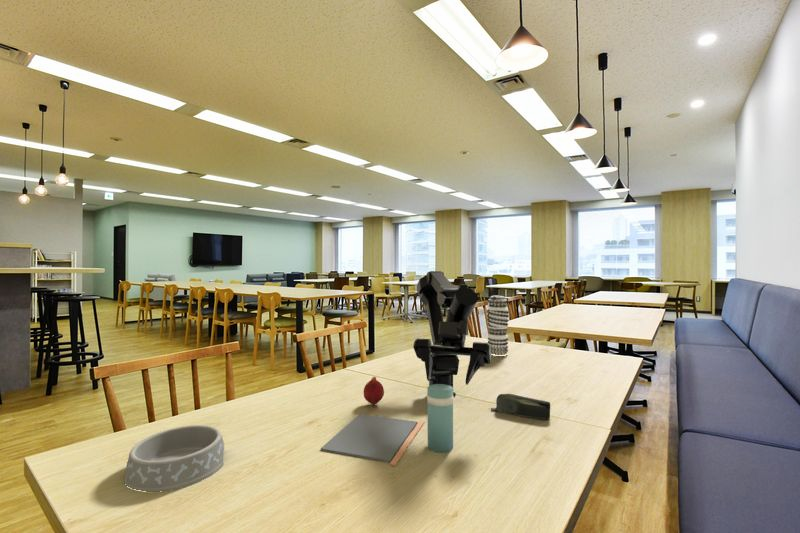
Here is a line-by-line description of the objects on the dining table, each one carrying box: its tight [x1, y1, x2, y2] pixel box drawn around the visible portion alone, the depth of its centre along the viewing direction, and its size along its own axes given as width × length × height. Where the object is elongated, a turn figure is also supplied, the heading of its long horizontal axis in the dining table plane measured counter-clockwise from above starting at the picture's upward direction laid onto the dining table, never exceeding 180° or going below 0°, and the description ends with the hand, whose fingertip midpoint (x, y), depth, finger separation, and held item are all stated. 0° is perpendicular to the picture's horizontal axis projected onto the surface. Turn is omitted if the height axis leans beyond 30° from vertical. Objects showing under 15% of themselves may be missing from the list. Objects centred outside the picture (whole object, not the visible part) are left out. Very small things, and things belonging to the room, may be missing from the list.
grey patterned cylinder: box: [486, 295, 509, 355], centre depth 169 cm, size 9×9×25 cm
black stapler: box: [490, 393, 551, 421], centre depth 105 cm, size 5×3×15 cm
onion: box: [363, 376, 385, 406], centre depth 112 cm, size 6×6×8 cm
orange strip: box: [389, 420, 425, 467], centre depth 90 cm, size 22×1×1 cm, turn 161°
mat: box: [320, 413, 419, 463], centre depth 93 cm, size 16×20×1 cm
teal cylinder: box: [426, 384, 454, 454], centre depth 87 cm, size 6×6×13 cm
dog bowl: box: [124, 424, 225, 493], centre depth 80 cm, size 17×18×5 cm
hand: (446, 381), depth 93 cm, fingers open, 9 cm apart
